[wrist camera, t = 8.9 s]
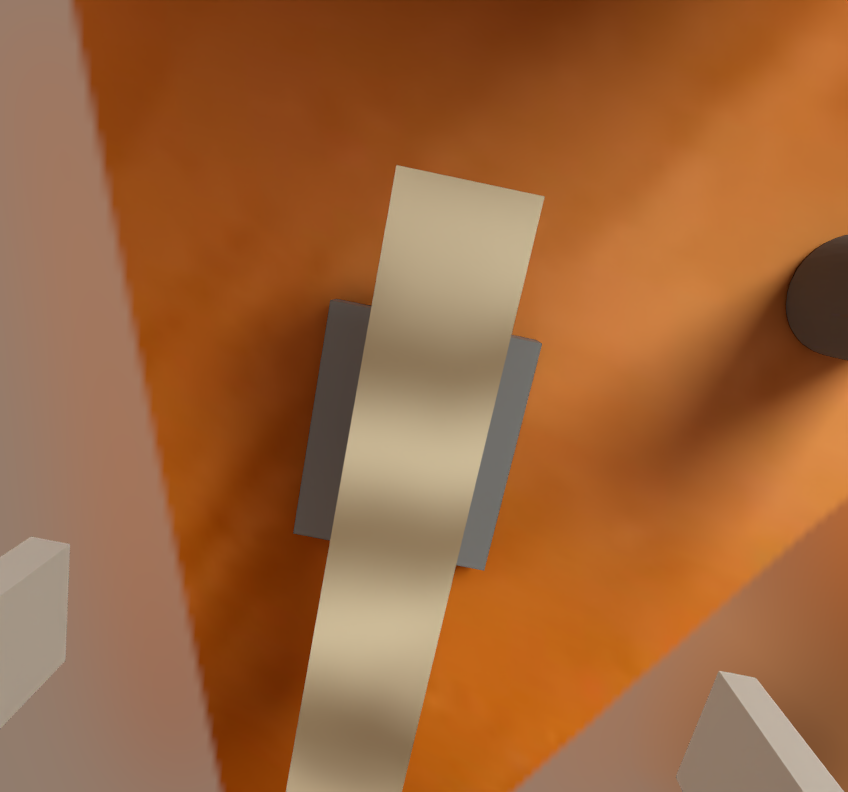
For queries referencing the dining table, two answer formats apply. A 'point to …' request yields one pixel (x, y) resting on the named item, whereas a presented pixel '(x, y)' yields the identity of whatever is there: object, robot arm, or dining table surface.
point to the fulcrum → (335, 422)
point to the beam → (409, 471)
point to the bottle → (821, 300)
